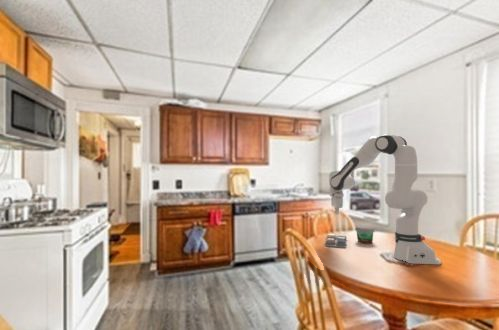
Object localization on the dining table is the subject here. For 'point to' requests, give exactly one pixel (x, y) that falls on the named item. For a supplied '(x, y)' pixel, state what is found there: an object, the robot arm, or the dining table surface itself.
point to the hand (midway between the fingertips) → (336, 213)
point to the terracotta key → (330, 239)
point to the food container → (365, 235)
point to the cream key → (331, 235)
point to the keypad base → (336, 243)
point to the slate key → (341, 239)
